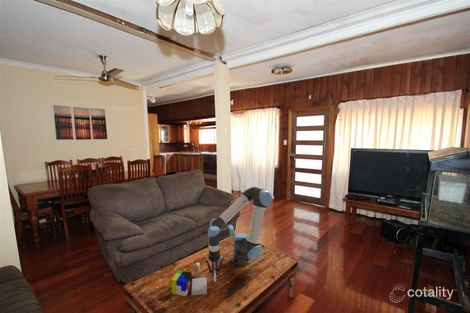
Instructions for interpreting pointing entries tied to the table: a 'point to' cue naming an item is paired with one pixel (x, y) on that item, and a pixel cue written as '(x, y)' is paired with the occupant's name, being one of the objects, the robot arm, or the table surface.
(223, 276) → the table surface
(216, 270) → the robot arm
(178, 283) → the puzzle toy
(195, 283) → the slab
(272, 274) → the table surface
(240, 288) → the table surface
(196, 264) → the dowel
